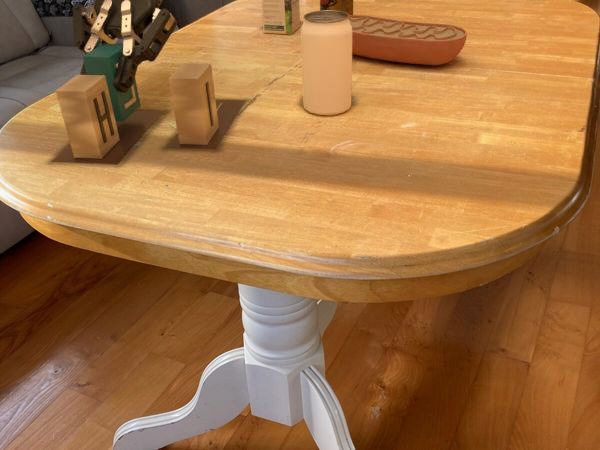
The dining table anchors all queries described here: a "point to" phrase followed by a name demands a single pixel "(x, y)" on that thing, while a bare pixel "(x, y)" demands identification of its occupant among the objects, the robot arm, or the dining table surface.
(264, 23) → the syrup box
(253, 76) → the dining table surface
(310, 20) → the can
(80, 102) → the block
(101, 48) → the green alphabet block
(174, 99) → the slotted tan block
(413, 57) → the orange elongated oval dish
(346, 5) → the condiment
